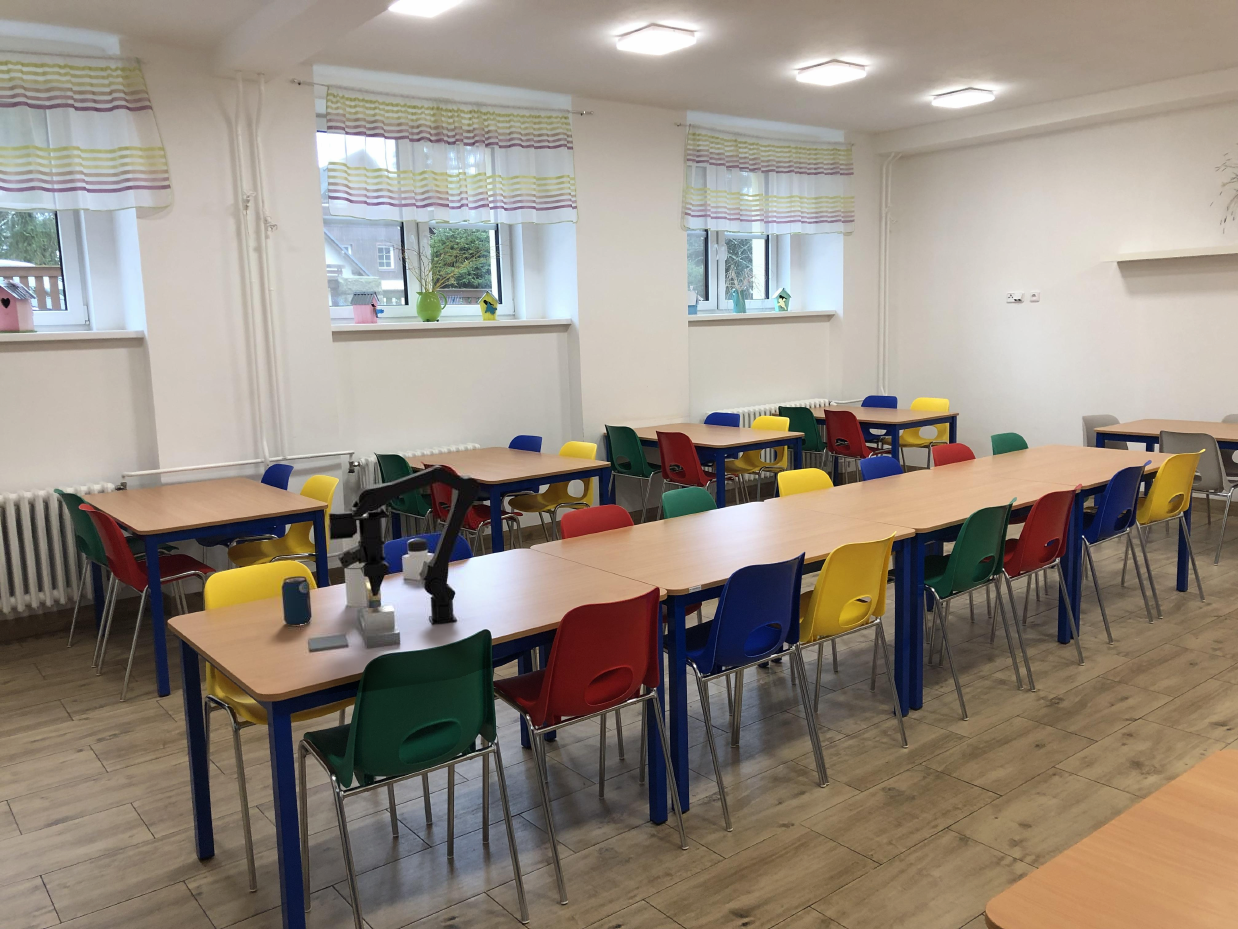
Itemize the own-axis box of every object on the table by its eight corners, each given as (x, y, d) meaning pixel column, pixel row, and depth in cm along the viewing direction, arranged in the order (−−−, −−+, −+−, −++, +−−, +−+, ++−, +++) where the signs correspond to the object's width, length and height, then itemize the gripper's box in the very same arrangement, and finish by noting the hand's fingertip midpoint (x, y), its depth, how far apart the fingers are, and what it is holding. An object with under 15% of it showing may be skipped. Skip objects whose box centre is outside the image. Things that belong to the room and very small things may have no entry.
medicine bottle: (435, 575, 301) (433, 538, 299) (419, 581, 295) (417, 542, 293) (419, 573, 304) (417, 536, 303) (402, 578, 299) (400, 540, 297)
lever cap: (364, 624, 240) (363, 609, 240) (392, 621, 243) (391, 605, 242) (366, 630, 236) (365, 614, 235) (395, 626, 238) (394, 610, 237)
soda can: (316, 622, 254) (313, 578, 252) (292, 628, 249) (288, 583, 247) (304, 617, 259) (301, 574, 257) (279, 623, 254) (276, 579, 252)
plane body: (357, 619, 255) (356, 594, 254) (388, 616, 258) (386, 590, 257) (366, 648, 231) (365, 620, 230) (400, 644, 233) (398, 616, 232)
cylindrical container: (377, 602, 272) (372, 515, 268) (355, 608, 266) (349, 519, 263) (364, 598, 276) (358, 513, 273) (342, 603, 271) (336, 517, 268)
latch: (365, 591, 255) (364, 580, 255) (376, 590, 256) (376, 579, 256) (369, 601, 246) (368, 589, 246) (380, 599, 247) (380, 588, 247)
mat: (308, 640, 238) (308, 638, 238) (345, 636, 241) (345, 633, 241) (309, 651, 230) (309, 649, 230) (348, 646, 233) (348, 644, 233)
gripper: (336, 532, 249) (340, 590, 251) (340, 546, 232) (345, 608, 234) (379, 528, 253) (383, 585, 255) (387, 541, 236) (391, 603, 238)
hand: (375, 595), depth 245 cm, fingers closed
